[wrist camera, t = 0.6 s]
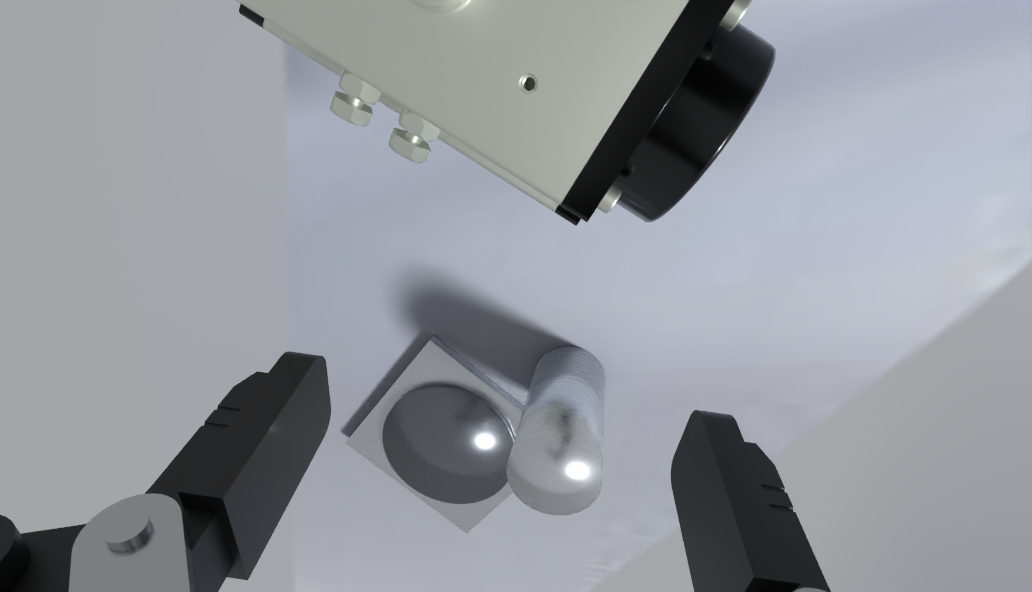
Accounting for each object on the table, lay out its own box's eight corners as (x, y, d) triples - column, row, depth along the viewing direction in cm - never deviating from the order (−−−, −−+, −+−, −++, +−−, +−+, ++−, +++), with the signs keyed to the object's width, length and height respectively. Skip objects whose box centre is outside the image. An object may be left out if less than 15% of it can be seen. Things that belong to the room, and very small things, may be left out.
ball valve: (356, 35, 29) (29, -52, 13) (419, -128, 26) (84, -525, 9) (619, 202, 30) (626, 322, 13) (713, 64, 26) (874, 3, 10)
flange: (433, 335, 35) (426, 343, 34) (565, 438, 36) (563, 451, 35) (350, 436, 40) (341, 447, 39) (469, 525, 41) (464, 539, 40)
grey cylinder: (565, 332, 33) (547, 419, 24) (620, 377, 34) (622, 479, 25) (520, 378, 35) (488, 475, 26) (573, 420, 36) (559, 530, 26)
